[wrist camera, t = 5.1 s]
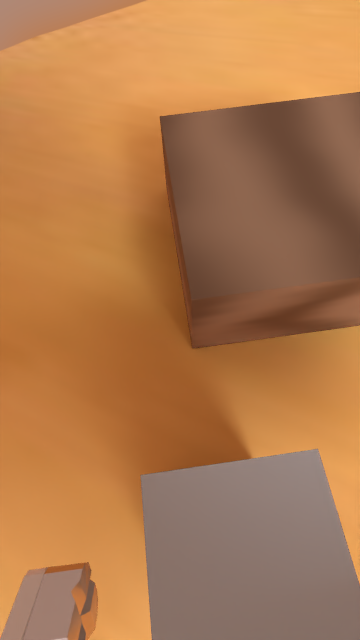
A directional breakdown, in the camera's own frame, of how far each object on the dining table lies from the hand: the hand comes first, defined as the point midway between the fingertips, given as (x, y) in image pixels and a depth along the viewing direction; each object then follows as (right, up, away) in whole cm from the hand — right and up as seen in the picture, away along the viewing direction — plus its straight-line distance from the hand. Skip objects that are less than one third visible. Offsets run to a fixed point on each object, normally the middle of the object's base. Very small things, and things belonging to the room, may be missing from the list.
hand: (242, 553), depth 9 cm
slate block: (0, -2, +5) cm, 5 cm away
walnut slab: (+4, +11, +11) cm, 16 cm away
